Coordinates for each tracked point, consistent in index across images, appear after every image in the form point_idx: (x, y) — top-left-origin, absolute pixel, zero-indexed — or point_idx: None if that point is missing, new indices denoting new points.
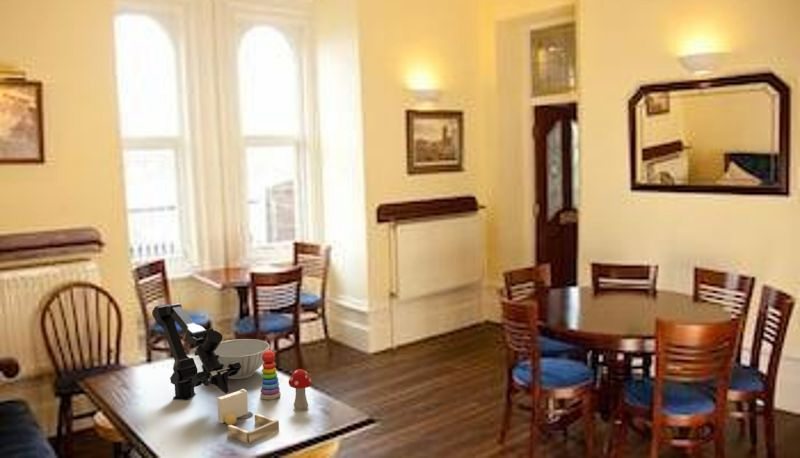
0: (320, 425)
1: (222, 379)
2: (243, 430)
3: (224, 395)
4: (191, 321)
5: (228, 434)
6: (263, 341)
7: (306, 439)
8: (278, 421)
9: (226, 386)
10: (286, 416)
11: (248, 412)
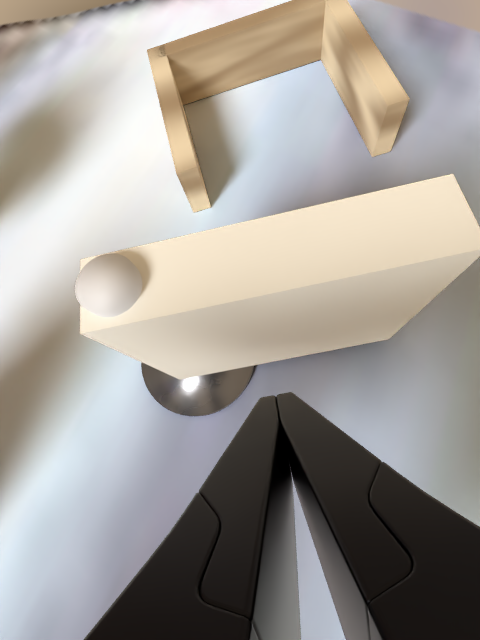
0: (26, 73)
1: (356, 559)
2: (348, 20)
3: (370, 270)
4: None
5: (391, 142)
6: None
7: (139, 4)
8: (149, 53)
9: (267, 436)
10: (46, 210)
11: (155, 369)
